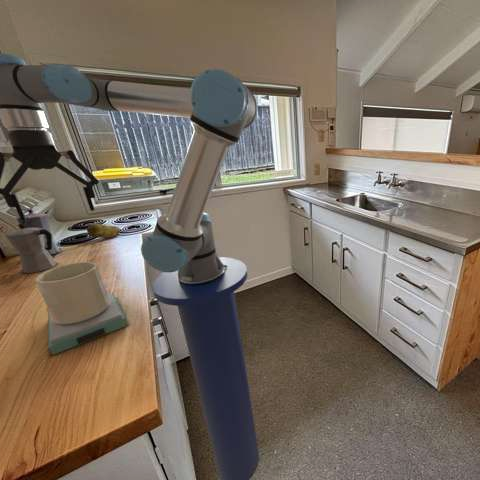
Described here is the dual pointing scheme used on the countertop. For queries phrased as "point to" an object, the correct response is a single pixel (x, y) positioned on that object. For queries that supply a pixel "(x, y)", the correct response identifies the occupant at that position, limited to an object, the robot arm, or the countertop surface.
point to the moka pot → (39, 222)
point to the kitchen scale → (85, 327)
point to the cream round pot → (73, 292)
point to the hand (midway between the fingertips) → (60, 214)
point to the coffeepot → (32, 248)
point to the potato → (103, 231)
